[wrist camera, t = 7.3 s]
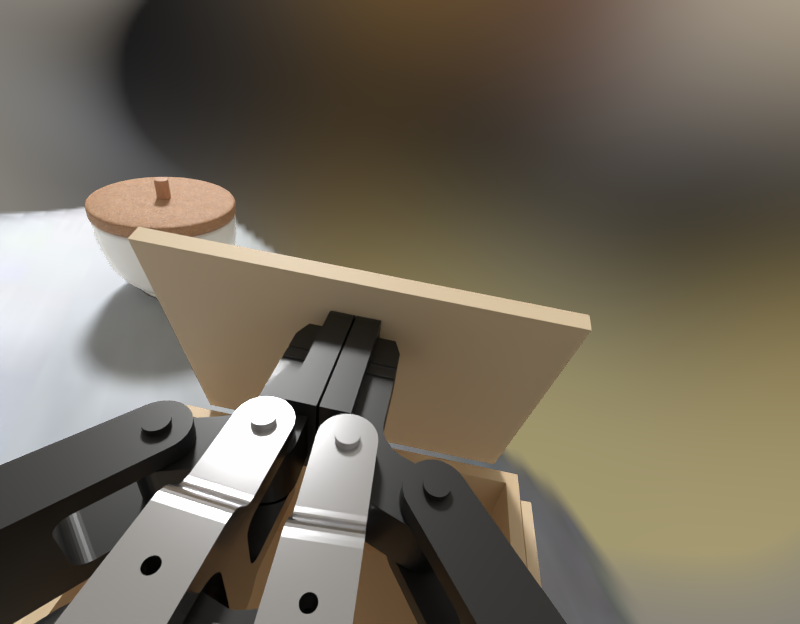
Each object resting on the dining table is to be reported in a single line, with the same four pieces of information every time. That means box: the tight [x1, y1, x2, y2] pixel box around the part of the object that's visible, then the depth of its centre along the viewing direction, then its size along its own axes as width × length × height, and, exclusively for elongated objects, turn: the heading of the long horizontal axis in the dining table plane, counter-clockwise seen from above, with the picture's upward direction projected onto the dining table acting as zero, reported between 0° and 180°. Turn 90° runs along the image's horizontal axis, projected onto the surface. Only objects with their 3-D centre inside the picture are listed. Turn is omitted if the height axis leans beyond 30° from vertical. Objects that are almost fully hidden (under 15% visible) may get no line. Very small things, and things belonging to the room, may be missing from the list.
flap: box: [128, 227, 591, 464], centre depth 14 cm, size 12×1×9 cm, turn 82°
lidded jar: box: [85, 177, 236, 298], centre depth 36 cm, size 11×11×9 cm
